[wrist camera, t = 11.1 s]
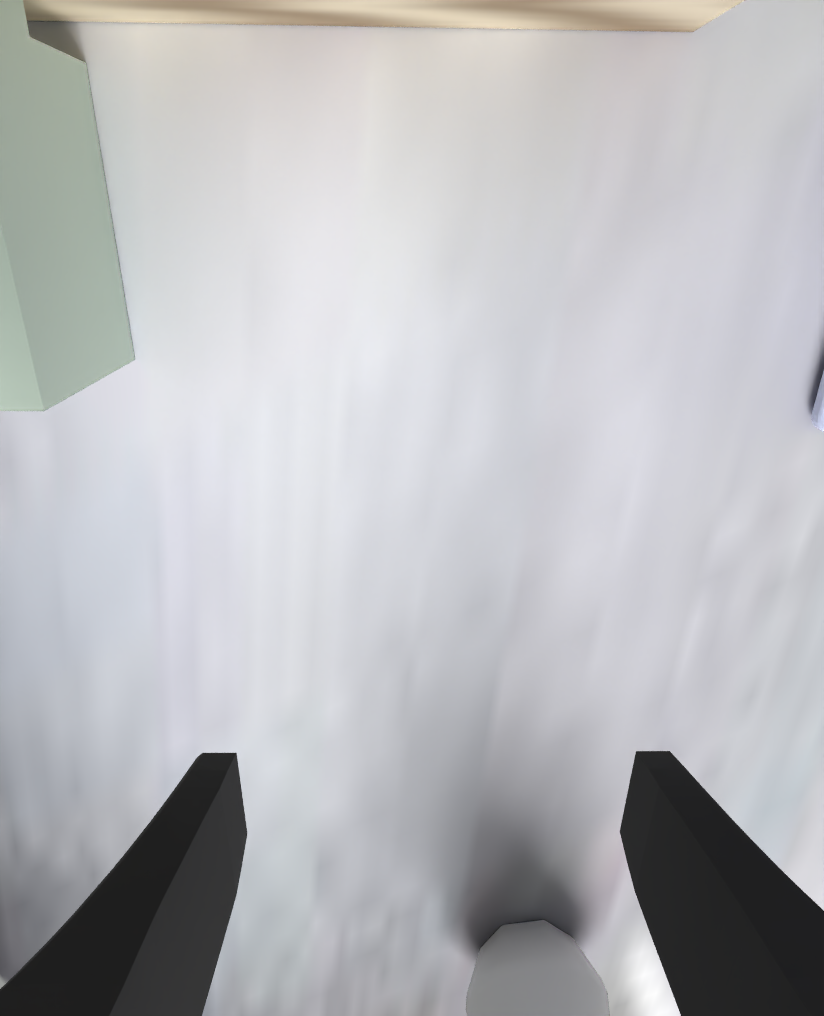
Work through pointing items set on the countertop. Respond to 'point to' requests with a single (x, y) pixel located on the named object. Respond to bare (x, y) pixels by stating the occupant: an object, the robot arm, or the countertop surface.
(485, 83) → the countertop surface
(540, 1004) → the salt shaker
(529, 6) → the maple slat
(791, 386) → the countertop surface
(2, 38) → the green plate
